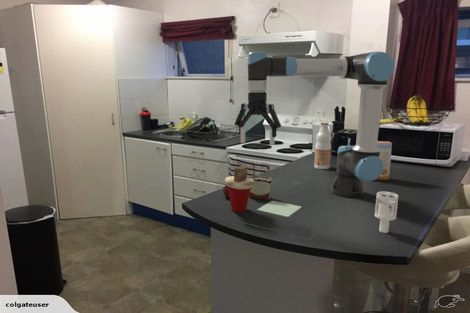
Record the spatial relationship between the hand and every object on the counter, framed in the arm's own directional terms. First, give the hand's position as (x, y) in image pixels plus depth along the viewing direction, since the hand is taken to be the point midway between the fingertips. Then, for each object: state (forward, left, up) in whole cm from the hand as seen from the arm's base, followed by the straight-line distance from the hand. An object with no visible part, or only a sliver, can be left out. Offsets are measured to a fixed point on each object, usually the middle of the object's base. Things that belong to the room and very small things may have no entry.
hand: (257, 143), depth 150 cm
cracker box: (-33, -77, -27) cm, 88 cm away
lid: (+2, +9, -15) cm, 18 cm away
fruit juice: (0, -85, -27) cm, 89 cm away
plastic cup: (+2, +9, -27) cm, 29 cm away
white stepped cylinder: (-52, -3, -27) cm, 58 cm away
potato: (+14, -4, -27) cm, 31 cm away
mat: (-11, -2, -27) cm, 29 cm away
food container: (+3, -11, -27) cm, 30 cm away
